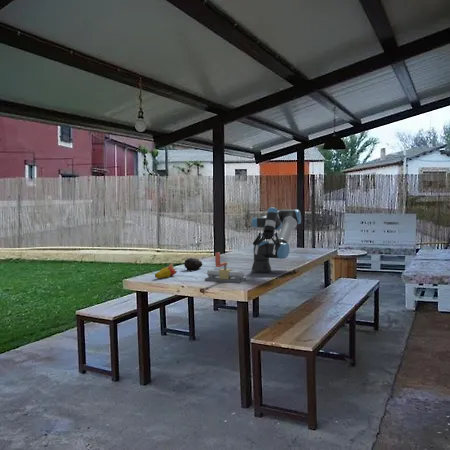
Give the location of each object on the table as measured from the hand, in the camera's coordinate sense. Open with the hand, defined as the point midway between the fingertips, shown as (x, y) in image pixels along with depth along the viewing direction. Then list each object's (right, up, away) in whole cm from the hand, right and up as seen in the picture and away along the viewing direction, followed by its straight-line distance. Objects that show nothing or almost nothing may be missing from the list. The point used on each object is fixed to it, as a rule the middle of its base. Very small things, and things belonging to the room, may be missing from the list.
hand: (264, 253), depth 341 cm
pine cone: (-53, -16, +49) cm, 74 cm away
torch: (-71, -18, +13) cm, 75 cm away
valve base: (-27, -18, -4) cm, 33 cm away
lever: (-30, -7, -11) cm, 33 cm away
